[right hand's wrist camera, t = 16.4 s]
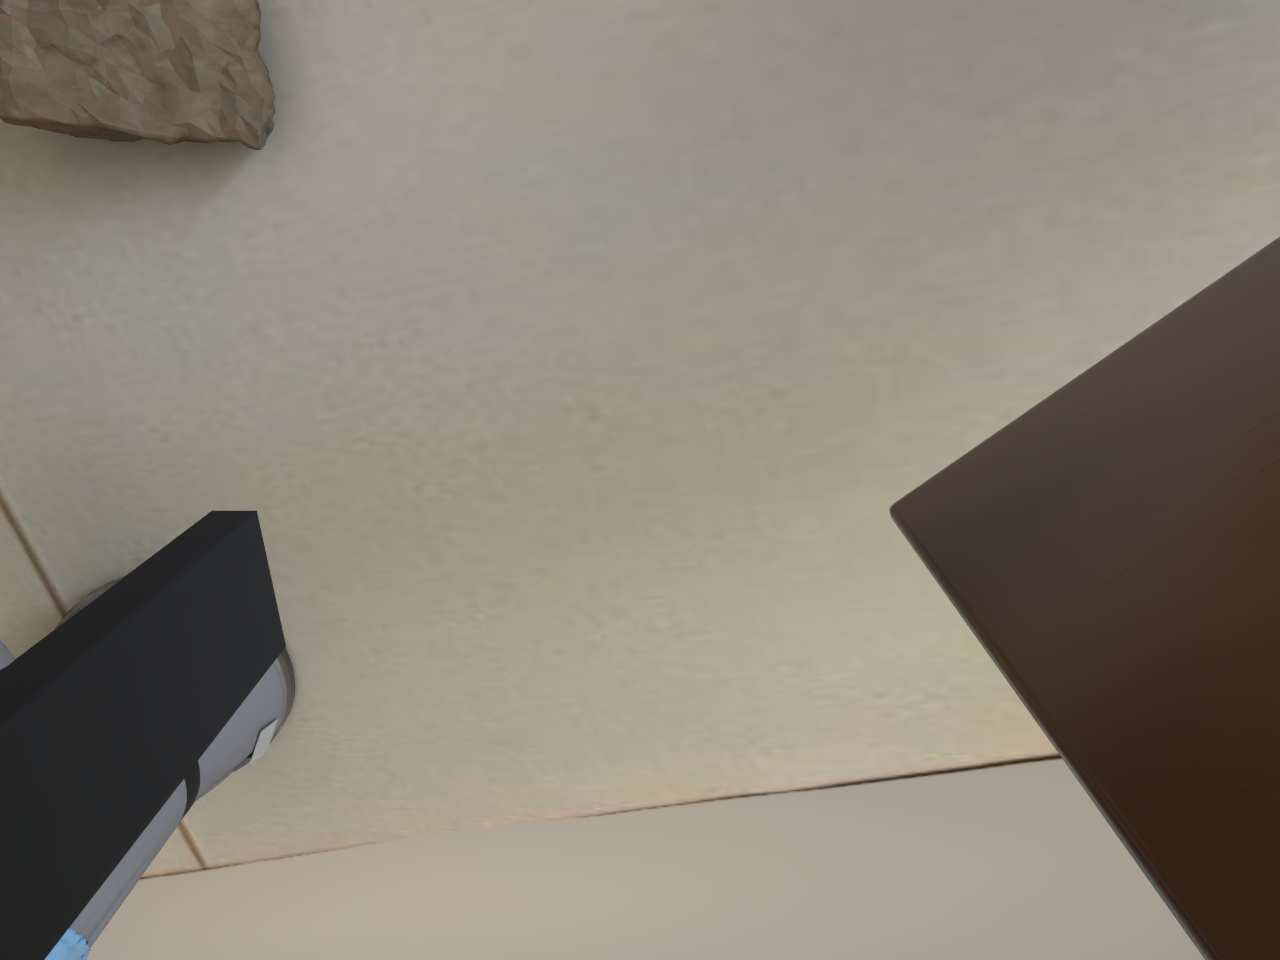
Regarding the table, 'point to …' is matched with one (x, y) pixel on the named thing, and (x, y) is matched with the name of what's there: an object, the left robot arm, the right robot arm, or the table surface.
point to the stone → (136, 69)
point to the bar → (1145, 593)
